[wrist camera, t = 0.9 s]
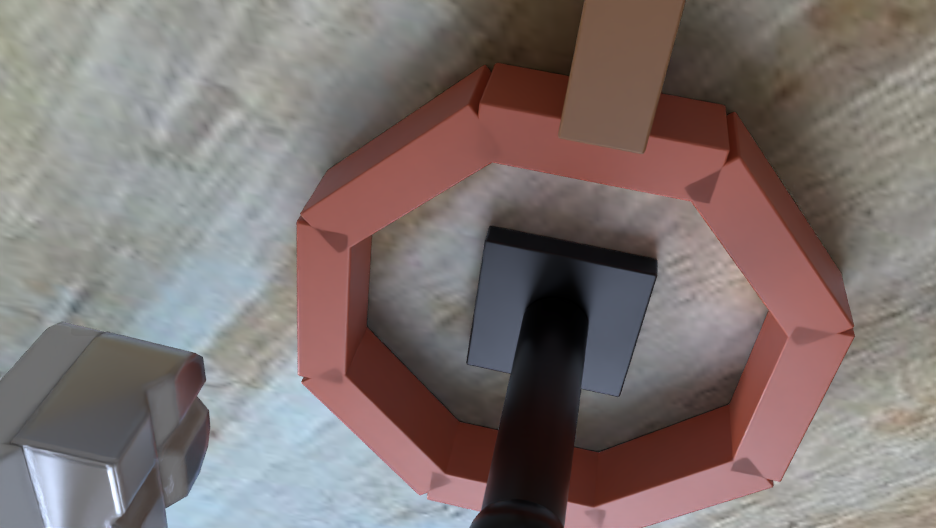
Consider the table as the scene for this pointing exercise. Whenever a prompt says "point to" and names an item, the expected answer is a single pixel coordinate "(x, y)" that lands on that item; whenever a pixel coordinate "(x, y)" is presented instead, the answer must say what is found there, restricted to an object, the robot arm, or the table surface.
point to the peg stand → (550, 359)
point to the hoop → (601, 161)
